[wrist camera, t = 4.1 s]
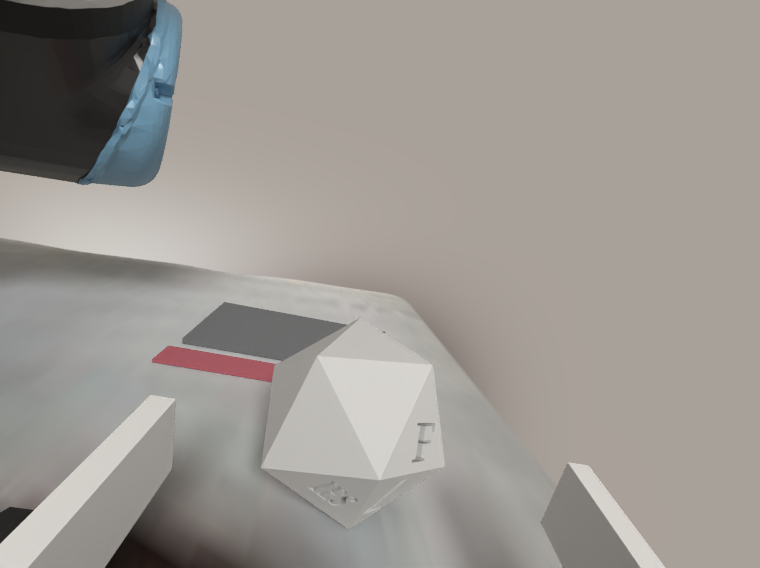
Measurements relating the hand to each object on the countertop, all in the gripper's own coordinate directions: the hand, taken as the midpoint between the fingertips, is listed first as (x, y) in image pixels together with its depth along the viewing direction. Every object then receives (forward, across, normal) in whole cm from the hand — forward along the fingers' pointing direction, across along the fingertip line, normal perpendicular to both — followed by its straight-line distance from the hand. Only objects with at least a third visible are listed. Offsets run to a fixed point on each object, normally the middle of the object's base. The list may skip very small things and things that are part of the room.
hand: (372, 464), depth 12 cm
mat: (+19, -6, -6) cm, 21 cm away
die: (+5, 0, -6) cm, 8 cm away
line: (+13, -6, -6) cm, 15 cm away
